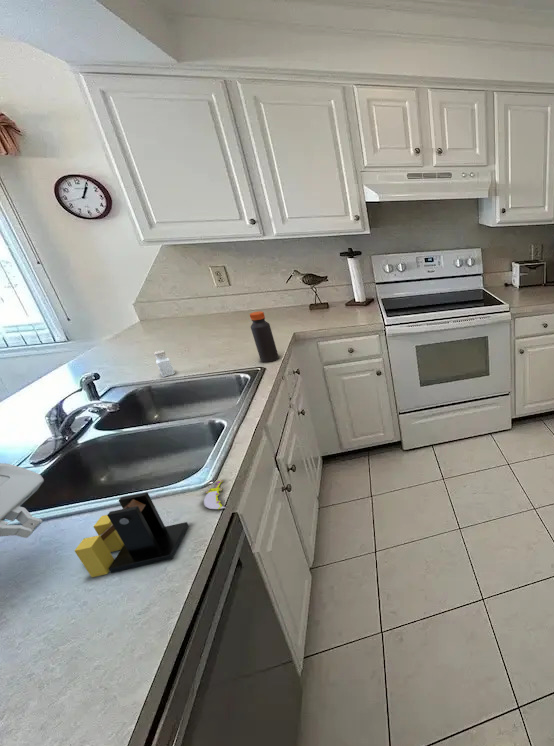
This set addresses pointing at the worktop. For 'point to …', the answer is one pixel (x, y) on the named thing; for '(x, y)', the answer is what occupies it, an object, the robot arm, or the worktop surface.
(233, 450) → the worktop surface
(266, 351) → the bottle
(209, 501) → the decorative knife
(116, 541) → the butter
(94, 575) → the butter
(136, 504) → the arm
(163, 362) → the pepper shaker
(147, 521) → the bracket
